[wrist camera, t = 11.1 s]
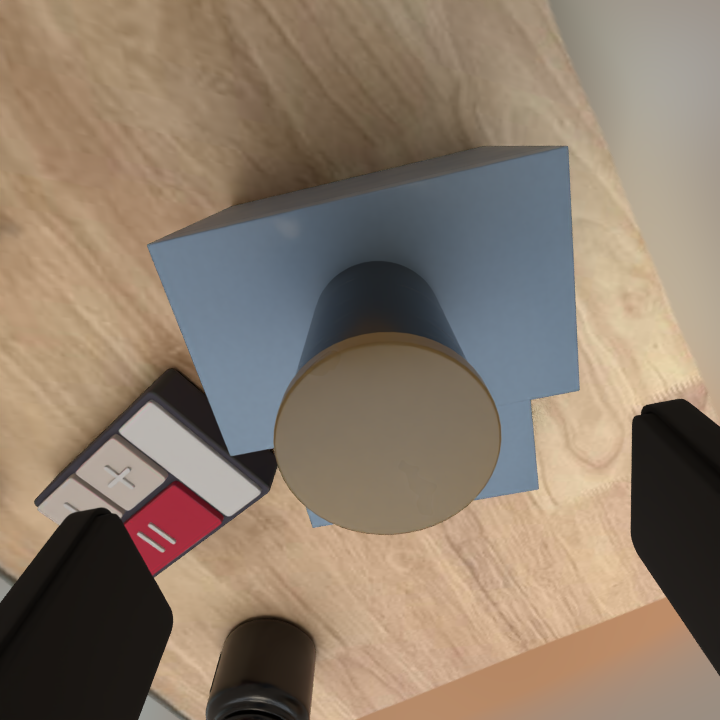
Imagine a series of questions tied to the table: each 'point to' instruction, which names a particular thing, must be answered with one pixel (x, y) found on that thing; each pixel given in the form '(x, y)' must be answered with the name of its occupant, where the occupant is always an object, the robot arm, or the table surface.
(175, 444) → the calculator
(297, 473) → the dark jar with lid
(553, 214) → the blue-grey angular block
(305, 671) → the ink bottle
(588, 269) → the table surface
